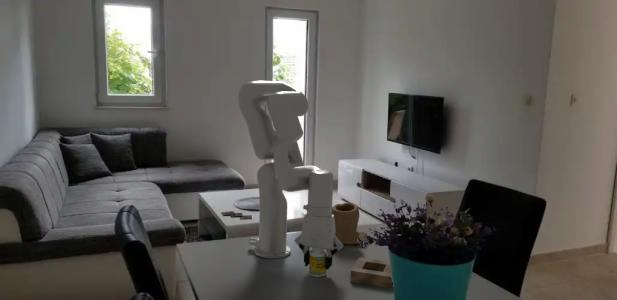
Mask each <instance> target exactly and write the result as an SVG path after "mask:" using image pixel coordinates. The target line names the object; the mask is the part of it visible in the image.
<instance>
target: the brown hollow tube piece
mask: <svg viewBox="0 0 617 300" xmlns="http://www.w3.org/2000/svg"><path fill="white" fill-rule="evenodd" d="M332 215H334V219H335V229H336V237H337V238H338V239H339V241H340V242H341V243H342V244H343V245H360V244H359V242H358V241H357V237H359V238H360V239H361V240H364V239H365V238H366V236H368V233H367V232H364V231H363V232H359V231H358V229H357V228H358V225H359V224H358V223H359V222H360V221H359V220H360V211H359V206H357V204H354V203H352V202H343V203H337V204H335V205H332ZM366 239H367V238H366Z"/></svg>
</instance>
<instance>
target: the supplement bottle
mask: <svg viewBox="0 0 617 300" xmlns="http://www.w3.org/2000/svg"><path fill="white" fill-rule="evenodd" d="M309 251H310V259H309V265H308V267H309V269H308V271H309V272H308V274H309V275H310V276H312V277H316V278H323V277H324V276H326V274H327V269H326V257H327V256H328V254H327V252H326V249H320V248H312V247H311V250H309Z"/></svg>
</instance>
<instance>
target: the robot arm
mask: <svg viewBox="0 0 617 300" xmlns="http://www.w3.org/2000/svg"><path fill="white" fill-rule="evenodd" d="M237 97H238V99H237V100H238V101H237V102H238V106H239V109H240V112H241V115H242V117H243V119H244V121H245V122H246V126H247V129H248V133H249V138H250V140H251V145H252V148H253V151H254V154H255V156H256V157H257V159H259V160H260V161H273V162H267V163H265V164H263V165H261V166H260V167H259V169H258V170H257V173H256V182H257V186H258V194H259V195H258V196H259V207H258V208H259V211H258V214H259V220H258V221H259V222H258V228H259V229H258V237H257V238H256V237H254V236H253V237H251V236H249V237H248V244H249V245H251V246H255V247H254V250H253V251H254V252H253V253H254V254H255V255H256V256H258V257H261V258H263V259H264V258H265V259H282V258H286V257H288V256H289V255H290V254H291V251H292V249H291V247H290V246H288V245H287V239H288V238H287V236H288V235H287V234H288V233H287V232H288V231H287V229H288V201H287V198H286V196H285V194H284V192H283V190H284V191H285V192H287V193H294V192H299V191H300V192H301V191H307V204H303V206H302V209H303V210H305V211H306V212H305V213H304V215H303V221H302V228H301V233H300V234H299V235H298V236H297V237H296V238H295V239H294V242H295V244H296V245H297V246H298V248H299V249H300V250H301V251H302V254H303V263H304V266H305V267H309V259H310V251H311V250H310V249H312V248H320V249H324V250H325V251H326V253H327V257H326V271H327V270H328V271H329V269H330V267H332V266H333V256H334V255H335V254H336V253H338V252H339V251H340V250H341V249H342V248H343V247H344V244H342V243H341V242H340V241H339V239H338V238H337V237H336V229H335V219H334V215H332V207H333V196H334V195H333V194H334V174H333V172H331V170H327V169H321V168H320V167H318V166H316V165H313V164H311V165H305V164H304V161H303V157H302V153H301V150H300V146H299V144H298V141H299V140H301V138H303V135H304V131H303V127H302V124H301V123H300V119H299V117H304V116H305V115H306V114H307V113H308V111H309V100H308V98H307V96H306V95H305V94H304V93H303V92H302V91H301V90H299V89H298V88H295V87H293V86H292V85H290V84H288V83H286V82H284V81H278V80H277V81H276V80H273V81H272V80H251V81H248V82H244V84H242V85H241V87H240V89H239V92H238V96H237ZM262 106H267V110H268V113H269V114H268V113H267V112H266V111H265V110H264V109H263V107H262ZM334 245H336V247H334ZM333 247H334V248H333Z"/></svg>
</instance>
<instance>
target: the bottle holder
mask: <svg viewBox="0 0 617 300" xmlns="http://www.w3.org/2000/svg"><path fill="white" fill-rule="evenodd" d="M390 262H391V261H387V260H380V259H373V258H366V257H358V259H357V260H356V262H355V263H354V265H353V267H352V269H351V270H350V282H351V283H356V284H361V285H362V284H363V285H368V286H375V287H380V288H381V287H382V288H385V289H386V288H387V289H390V288H391V287H392V285H393V282H392V278H391V270H390Z"/></svg>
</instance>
